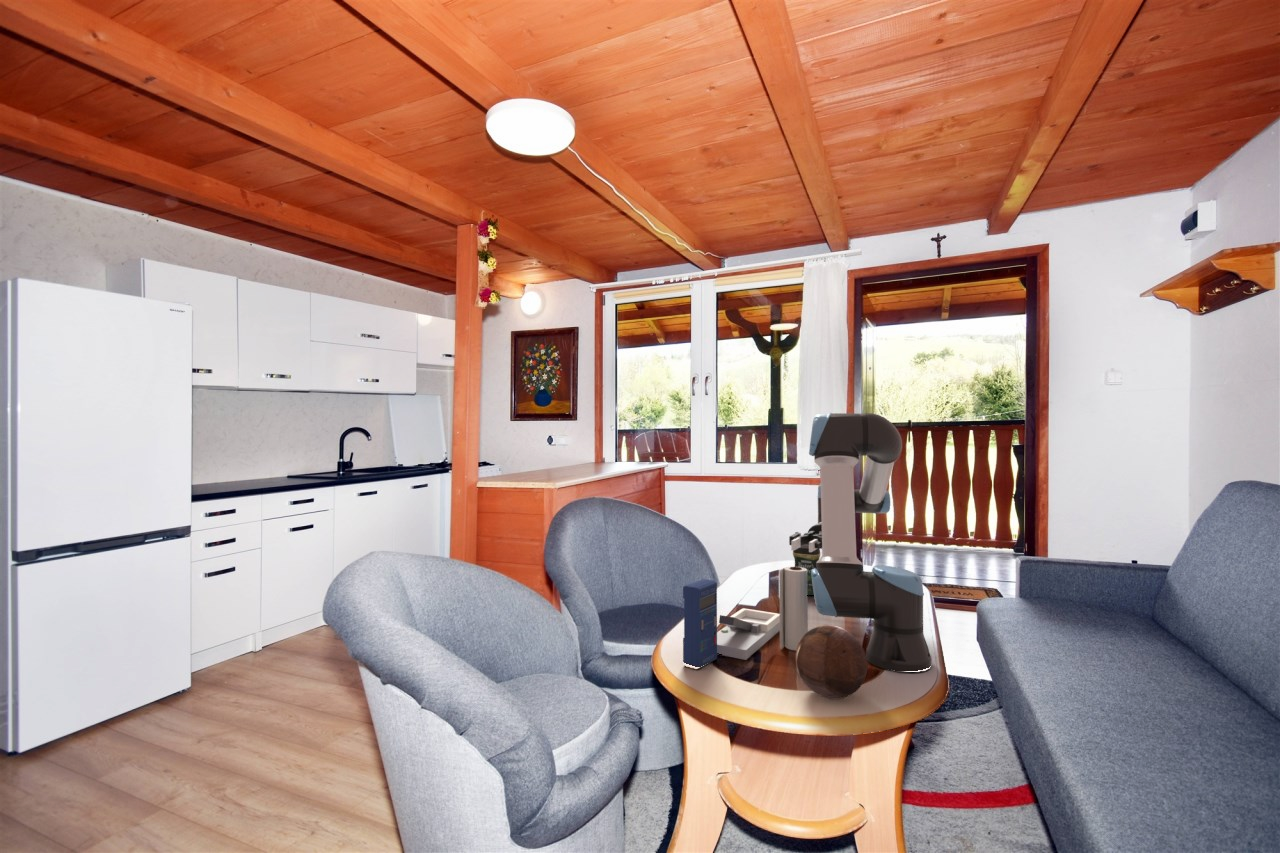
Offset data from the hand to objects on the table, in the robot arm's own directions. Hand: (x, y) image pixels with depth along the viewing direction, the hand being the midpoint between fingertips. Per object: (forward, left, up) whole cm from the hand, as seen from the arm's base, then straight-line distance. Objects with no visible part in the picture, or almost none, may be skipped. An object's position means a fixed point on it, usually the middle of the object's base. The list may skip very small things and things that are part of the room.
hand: (801, 546), depth 168 cm
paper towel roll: (-5, +6, -26) cm, 27 cm away
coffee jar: (+43, -29, -26) cm, 58 cm away
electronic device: (-8, +34, -26) cm, 44 cm away
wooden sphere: (-34, +14, -26) cm, 45 cm away
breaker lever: (+5, +15, -22) cm, 28 cm away
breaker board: (+5, +15, -26) cm, 30 cm away
